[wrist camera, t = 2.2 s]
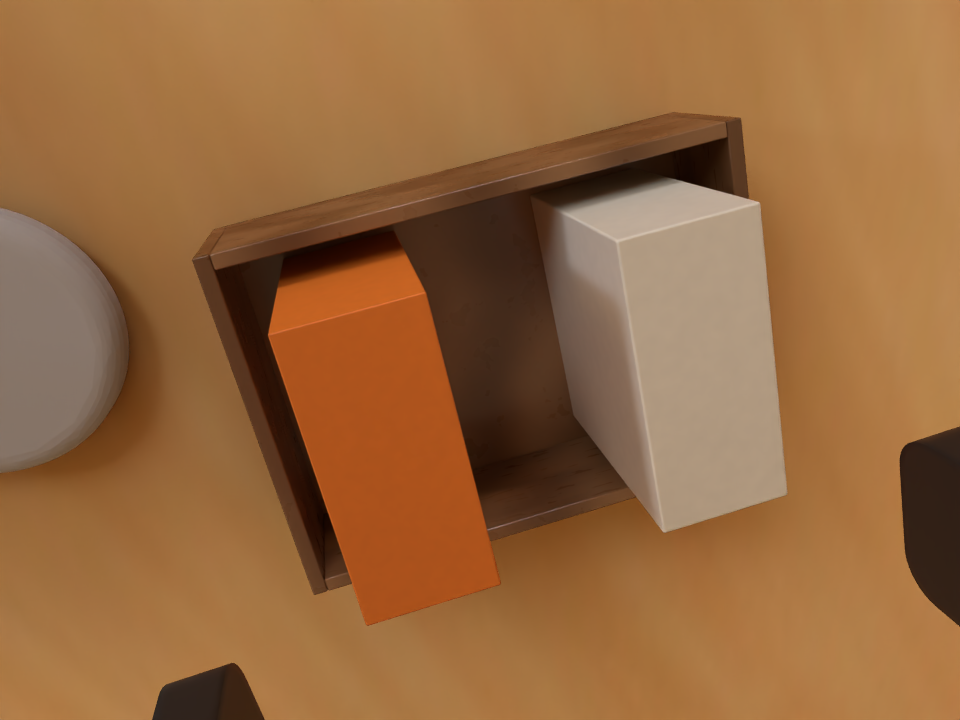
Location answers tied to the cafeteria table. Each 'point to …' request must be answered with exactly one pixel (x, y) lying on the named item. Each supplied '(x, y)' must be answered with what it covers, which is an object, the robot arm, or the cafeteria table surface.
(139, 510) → the cafeteria table surface
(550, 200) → the block
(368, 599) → the block
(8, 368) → the holder
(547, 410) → the brown wooden tray
